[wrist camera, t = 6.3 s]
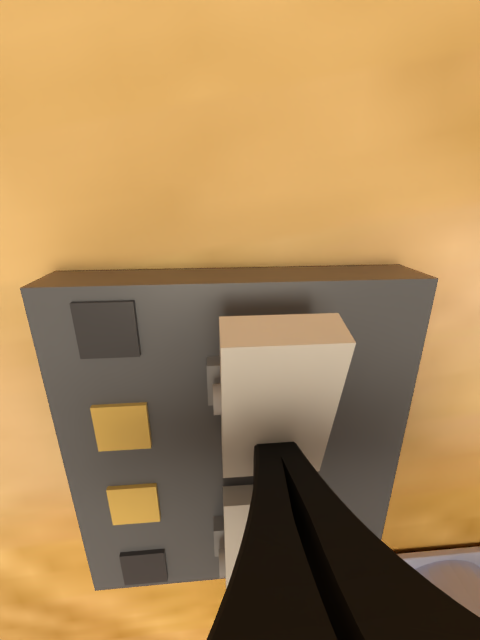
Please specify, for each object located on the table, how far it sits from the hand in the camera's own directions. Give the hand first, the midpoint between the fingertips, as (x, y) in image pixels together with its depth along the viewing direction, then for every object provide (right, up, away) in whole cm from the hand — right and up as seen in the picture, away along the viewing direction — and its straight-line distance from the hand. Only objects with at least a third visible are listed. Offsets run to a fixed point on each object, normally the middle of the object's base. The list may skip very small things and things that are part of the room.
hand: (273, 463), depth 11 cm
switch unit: (-1, 0, +5) cm, 5 cm away
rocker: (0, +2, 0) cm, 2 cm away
